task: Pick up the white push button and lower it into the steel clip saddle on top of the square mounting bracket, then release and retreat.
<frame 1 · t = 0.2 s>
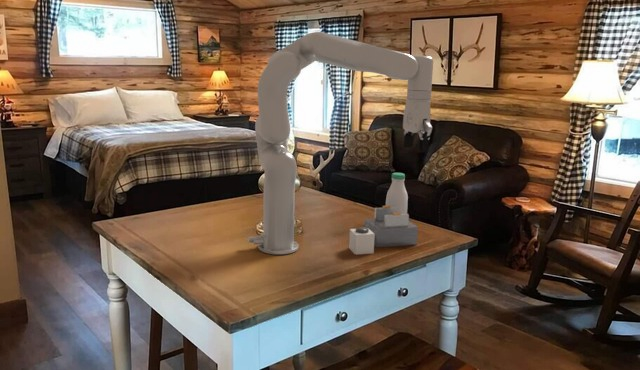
hand: (415, 149, 177), 31 cm above the table, fingers open, 9 cm apart
milk bottle: (395, 228, 197), on the table
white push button: (361, 250, 173), on the table
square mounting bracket: (389, 240, 184), on the table
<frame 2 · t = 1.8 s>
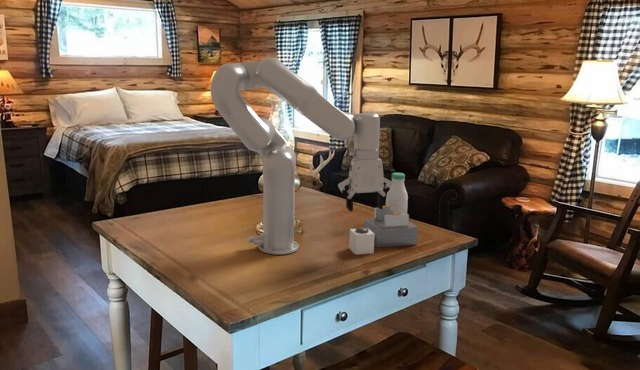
hand: (365, 209, 170), 13 cm above the table, fingers open, 9 cm apart
nothing on the table moved.
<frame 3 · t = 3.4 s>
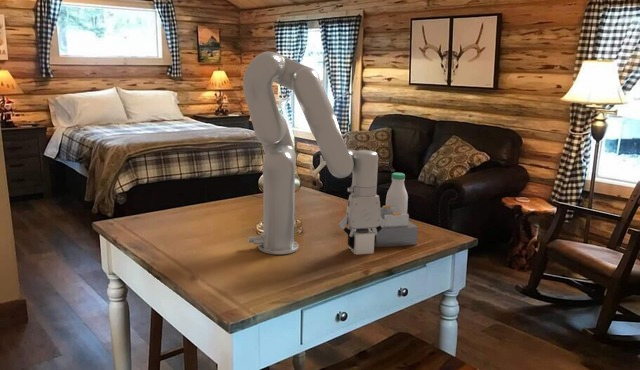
hand: (361, 246, 172), 1 cm above the table, fingers closed on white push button, 6 cm apart
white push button: (361, 250, 173), on the table, touching gripper
everything else where it was.
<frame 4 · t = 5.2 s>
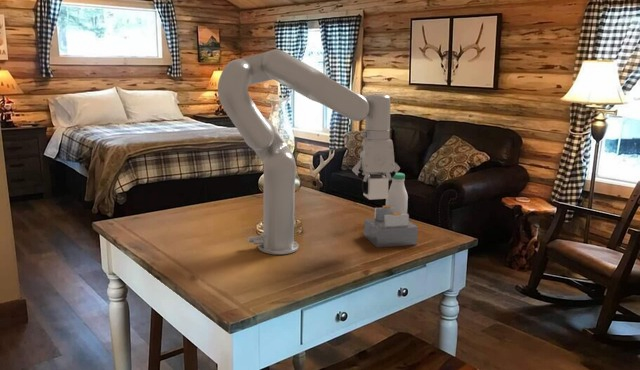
hand: (375, 192, 172), 18 cm above the table, fingers closed on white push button, 6 cm apart
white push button: (375, 196, 172), point 17 cm above the table, touching gripper
everything else where it was.
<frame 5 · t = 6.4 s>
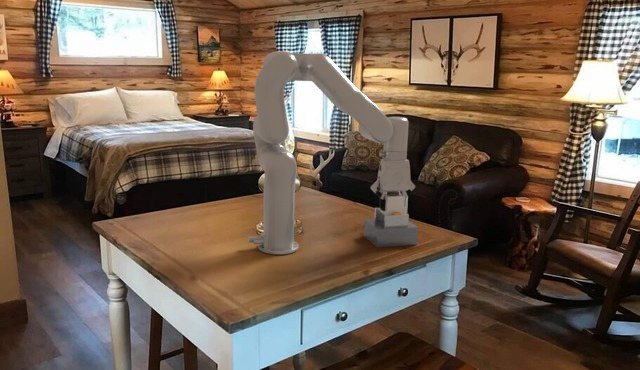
hand: (391, 209, 181), 11 cm above the table, fingers closed on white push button, 6 cm apart
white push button: (391, 213, 181), point 9 cm above the table, touching gripper
everything else where it was.
when the fingers open (8 cm above the table, at t = 7.3 s): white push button stays where it is, resting on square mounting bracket.
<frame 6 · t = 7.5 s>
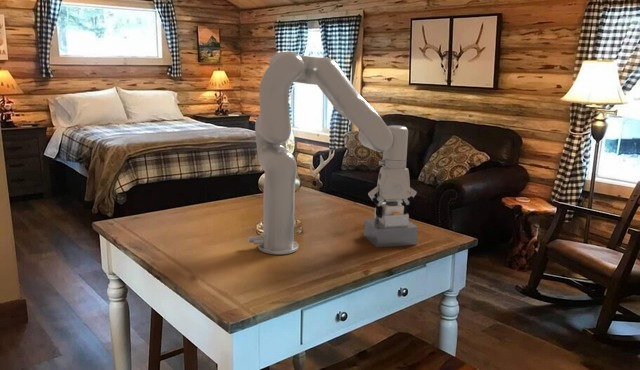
hand: (391, 216, 182), 8 cm above the table, fingers open, 8 cm apart
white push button: (390, 222, 182), point 6 cm above the table, touching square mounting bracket
everything else where it was.
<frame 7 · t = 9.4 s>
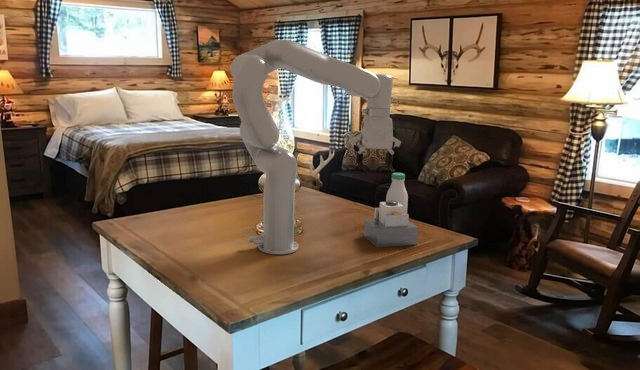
hand: (373, 165, 181), 25 cm above the table, fingers open, 9 cm apart
nothing on the table moved.
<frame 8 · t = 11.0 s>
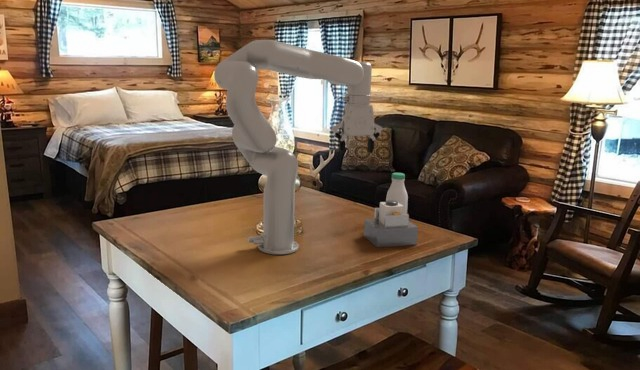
hand: (356, 152, 183), 28 cm above the table, fingers open, 9 cm apart
nothing on the table moved.
at the end: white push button 0.1 cm off-centre on the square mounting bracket, point 6.0 cm above the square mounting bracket's base; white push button tilted 0°; the gripper is holding nothing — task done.
